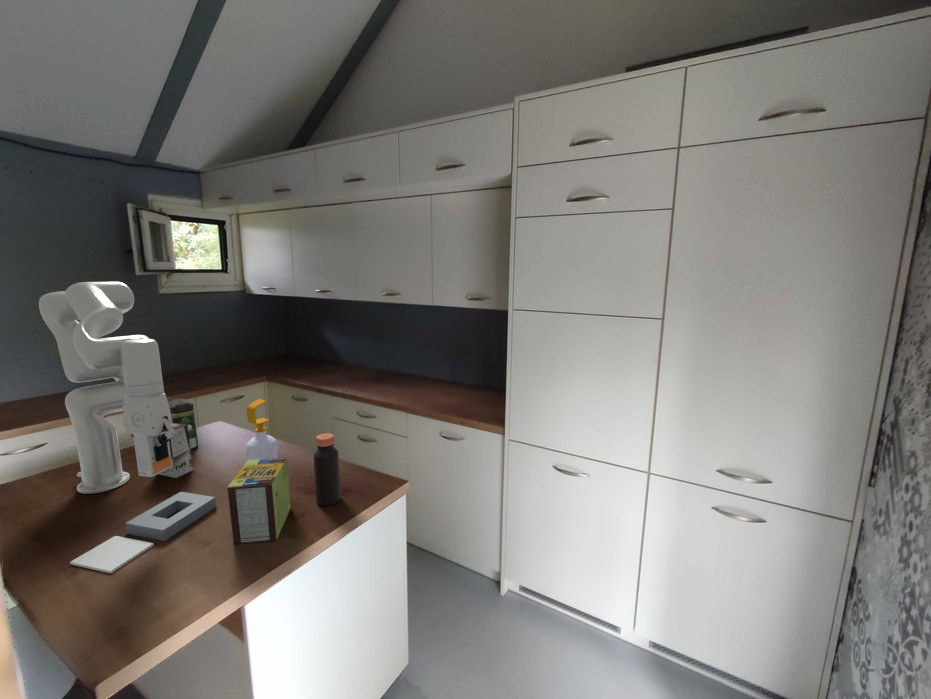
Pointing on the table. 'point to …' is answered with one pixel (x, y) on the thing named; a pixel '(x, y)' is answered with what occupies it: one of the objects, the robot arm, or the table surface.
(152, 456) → the skincare box
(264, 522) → the protein box
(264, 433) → the soap bottle
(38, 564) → the table surface
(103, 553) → the white flat plate
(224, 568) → the table surface
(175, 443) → the coffee box
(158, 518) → the slotted board
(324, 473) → the vinegar
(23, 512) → the table surface
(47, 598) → the table surface
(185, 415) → the coffee jar
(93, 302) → the robot arm
